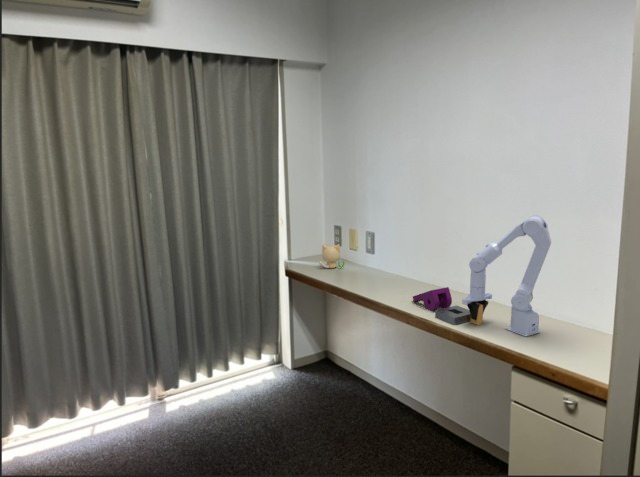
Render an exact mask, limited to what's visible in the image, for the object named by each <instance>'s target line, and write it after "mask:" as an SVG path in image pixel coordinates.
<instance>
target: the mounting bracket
mask: <svg viewBox="0 0 640 477" xmlns="http://www.w3.org/2000/svg"><path fill="white" fill-rule="evenodd" d="M412 300H413V302H418V301H421V300H422V302H423V305H424V307H425V309H426V310H428V311H431V312H432V311H435V310H439V308H441V309H443V308H448V307H452V306H451V305H452V303H453V299H452V295H451V292H450V288H449V287H448V286H447V287H442V288H435V289H431V290H429V291H428V290H427V291H424V292H422V293H420V294H416V295H413V296H412Z"/></svg>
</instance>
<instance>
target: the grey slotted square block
mask: <svg viewBox="0 0 640 477" xmlns="http://www.w3.org/2000/svg"><path fill="white" fill-rule="evenodd" d="M434 312H435V313H434V314H435V315H434V317H435V318H436V319H438V320H441V321H444V322H446V323H448V324H450V325H453V326H457V325H460V324H463V323H468V322H471V314H470V311H469V308H468V309H467V308H464V307H463V306H460V305H457V304H456V305H453V306H450V307H447V308H440V309H439V308H438V309H437V310H434Z"/></svg>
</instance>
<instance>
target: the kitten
mask: <svg viewBox="0 0 640 477" xmlns="http://www.w3.org/2000/svg"><path fill="white" fill-rule="evenodd" d="M340 246H341V245H340V244H339V243H338V244H336V245H334V246H333V245H330V246H329V245H326V244H322V245H321V247H322V249H321V250H322V251H321V253H322V254H321V255H322V260H323V261H325V262H326V264H324V263H323V261H321V260H320V261H319V264H318V265H320V266H321V267H323V268H326V269H335V267H336V268H337V265H338V267H339V268H340V267H341V268H342V267H343V268H344V266H345V260H342V262H343V263H342V264H340V262H339V261H340V259H341V247H340ZM337 263H338V264H337ZM341 268H340V269H341ZM343 268H342V269H343Z"/></svg>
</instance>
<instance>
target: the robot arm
mask: <svg viewBox="0 0 640 477" xmlns="http://www.w3.org/2000/svg"><path fill="white" fill-rule="evenodd" d="M548 228H549V227H548V224H547V222H546V221H545V220H544V218H543V217H542V216H540V215H532V216H530V217H529V218H528V219H525V220H524V221H522V222H521V223H519V224H517V225H516V226H514V227H513V228H512V229H511V230H509V231H508V232H507V233H506V234H505V235H504V236H503V237H502V238H500V240H499V241H497V242H491V243H487V244H486V245H485V248H484V249H482V250H481V251H480V252H476V256H474V257H472V258H471V259H470V261H469V264H468V266H469V268H470V277H469V278H470V280H469V281H470V284H469V285H470V286H469V293H468V296H466V297H465V298H462V299H461V302H462V303H461V304H462V305H464V306H465V305H466V306H467V308H468V310H469V311H470V314H471V319H473V320H476V319H477V313H478V309H479V306H480V305H479V304H482V305H483V314H484V312H485V310H486V308H487V307H488V305H489V300H492V299H493V294H492V293H489V292H487V293H486V283H487V282H486V278H487V277H486V276H487V275H486V273H487V272H486V270H487V269H486V268H487V267H488V265H491V263H493V262H494V261H495V260H496V259H498V258H499V257H501V256H502V255H503V250H504V248H505V247H507V246H508V245H510V244H511V243H512V242H513V241H514V240H516V239H517V238H518V237H519V238H520V237H525V236H526V235H527V236H528V237H529V238H530V239H531V240H532V241H533V242H534V244H535V246H534V249H533V252H532V254H531V257H530V259H529V262H528V265H527V266H526V270H525V272H524V274H523V278H522V280H521V283H520V285H519V287H518V289H517V290H516V292H515V294H514V295H513V296H512V297H511V298H510V299H511V300H510V303H511V307H510V308H511V310H510V312H511V313H510V325H509V326H507V327H505V330H506V331H507V330H508V331H510V332H513V333H515V334H518V335H520V336H523V337H529V336H532V335H537V334H539V333H540V331H539V323H540V322H539V321H540V315H539V314H538V312H536V311H534V310H533V307H532V305H531V303H532V301H533V298H534V296H533V291H534V288H535V285H536V283H537V280H538V278H539V274H540V273H541V271H542V267H543V264H544V263H545V260H546V258H547V255H548V252H549V250H550V247H551V245H552V239H551V236H550V232H549V229H548ZM477 303H479V304H477Z"/></svg>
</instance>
